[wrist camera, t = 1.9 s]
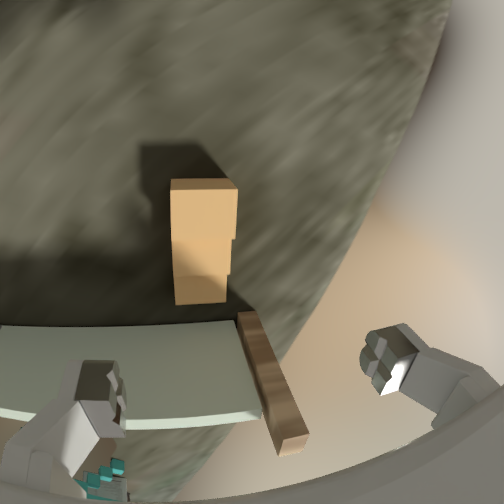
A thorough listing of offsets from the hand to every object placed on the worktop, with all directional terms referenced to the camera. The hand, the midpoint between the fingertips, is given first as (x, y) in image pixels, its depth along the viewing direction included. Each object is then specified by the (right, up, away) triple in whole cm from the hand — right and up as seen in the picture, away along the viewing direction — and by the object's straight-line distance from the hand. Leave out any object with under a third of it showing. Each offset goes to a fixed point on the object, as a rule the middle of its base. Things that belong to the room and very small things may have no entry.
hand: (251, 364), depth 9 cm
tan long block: (-5, +4, +20) cm, 21 cm away
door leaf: (-16, -6, +21) cm, 27 cm away
